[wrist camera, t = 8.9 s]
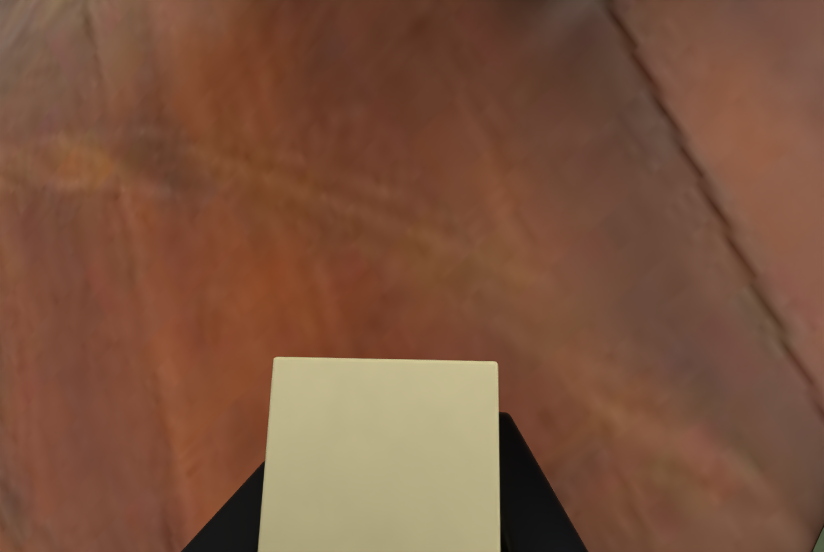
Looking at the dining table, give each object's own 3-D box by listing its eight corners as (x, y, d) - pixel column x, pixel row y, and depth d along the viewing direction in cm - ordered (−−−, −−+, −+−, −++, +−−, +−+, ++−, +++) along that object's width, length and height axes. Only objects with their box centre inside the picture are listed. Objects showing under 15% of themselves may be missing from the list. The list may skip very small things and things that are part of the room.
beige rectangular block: (479, 532, 15) (504, 840, 5) (385, 526, 15) (236, 803, 5) (478, 369, 16) (498, 361, 6) (390, 367, 16) (272, 356, 6)
